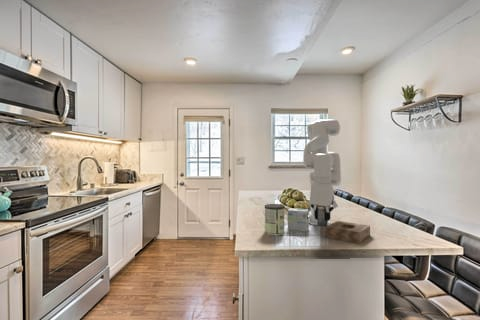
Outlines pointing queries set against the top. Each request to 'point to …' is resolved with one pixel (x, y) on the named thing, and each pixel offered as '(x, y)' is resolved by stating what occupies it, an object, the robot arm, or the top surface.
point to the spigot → (321, 216)
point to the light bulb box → (298, 219)
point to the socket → (347, 231)
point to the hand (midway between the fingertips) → (322, 219)
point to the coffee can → (274, 219)
